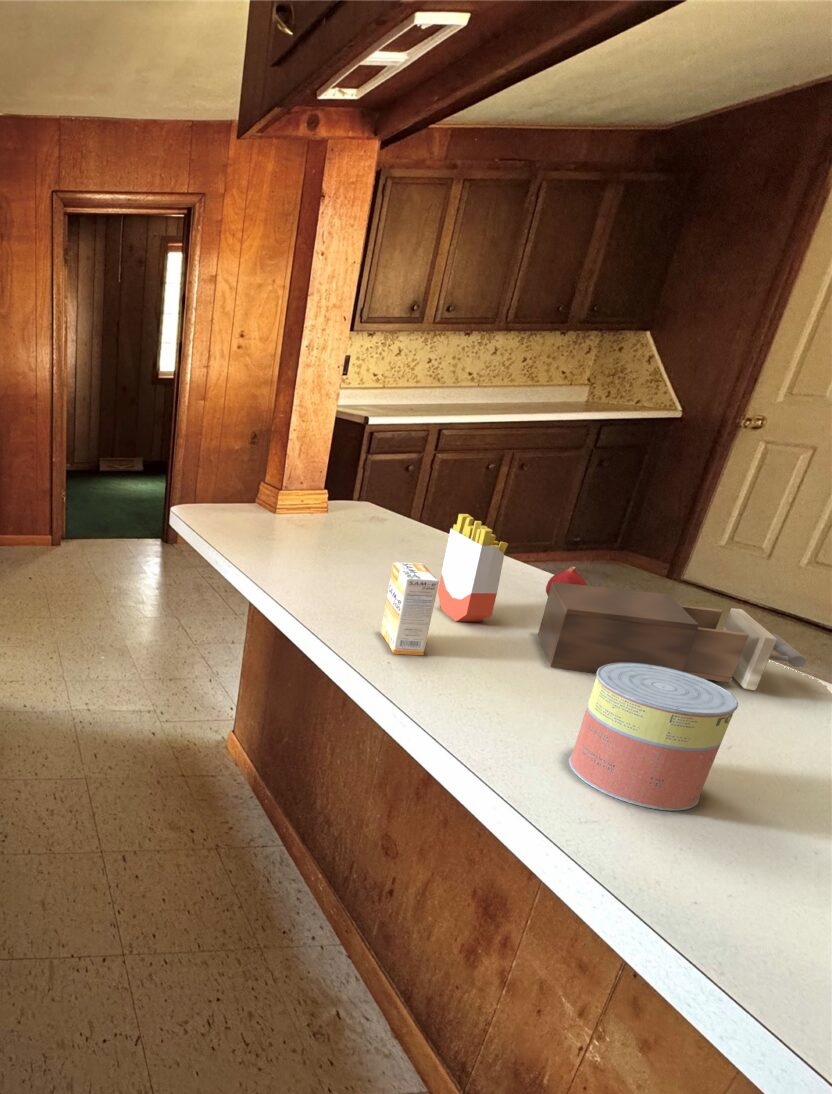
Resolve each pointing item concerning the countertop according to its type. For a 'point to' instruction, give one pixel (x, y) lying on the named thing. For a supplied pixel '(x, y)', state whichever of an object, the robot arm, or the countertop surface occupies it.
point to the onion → (566, 578)
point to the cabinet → (613, 628)
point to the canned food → (651, 734)
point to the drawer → (734, 648)
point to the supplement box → (409, 608)
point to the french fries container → (470, 571)
